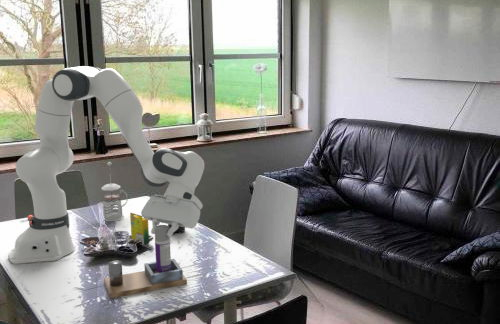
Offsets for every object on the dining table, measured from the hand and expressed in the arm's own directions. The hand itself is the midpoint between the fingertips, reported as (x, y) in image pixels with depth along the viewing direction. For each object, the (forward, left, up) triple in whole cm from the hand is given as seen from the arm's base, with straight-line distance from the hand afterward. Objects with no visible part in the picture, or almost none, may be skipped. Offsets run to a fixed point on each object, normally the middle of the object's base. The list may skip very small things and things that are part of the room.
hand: (160, 234), depth 169 cm
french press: (-3, +70, -16) cm, 72 cm away
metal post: (-14, 0, -14) cm, 20 cm away
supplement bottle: (+17, +42, -16) cm, 48 cm away
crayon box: (+1, +36, -16) cm, 40 cm away
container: (+1, 0, -13) cm, 13 cm away
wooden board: (-5, 0, -16) cm, 17 cm away
